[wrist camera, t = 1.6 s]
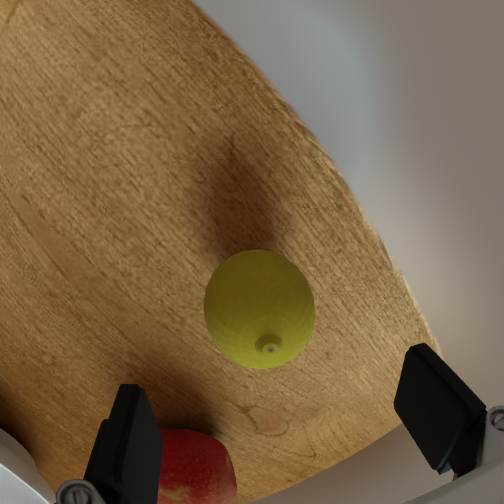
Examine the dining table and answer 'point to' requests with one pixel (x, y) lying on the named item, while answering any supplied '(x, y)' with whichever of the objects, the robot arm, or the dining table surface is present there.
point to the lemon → (259, 309)
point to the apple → (195, 469)
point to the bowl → (20, 475)
